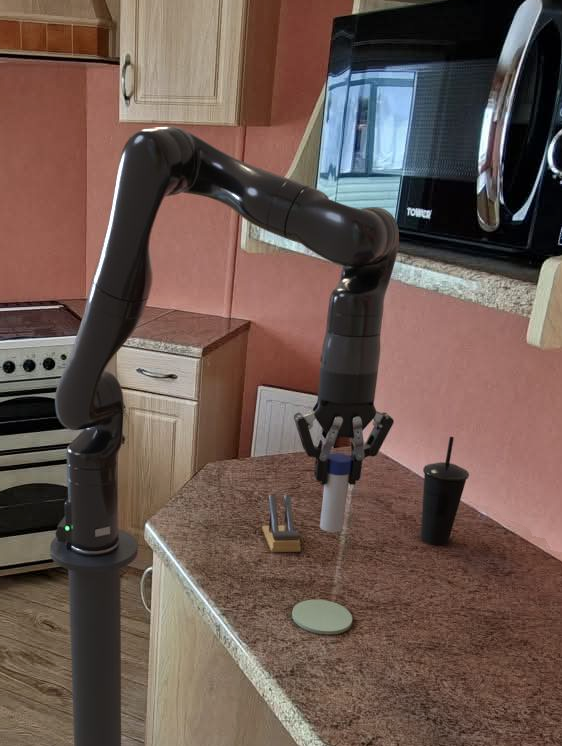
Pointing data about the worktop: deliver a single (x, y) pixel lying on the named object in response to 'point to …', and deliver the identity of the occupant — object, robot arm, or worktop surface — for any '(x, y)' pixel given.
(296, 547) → the rack
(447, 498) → the drinking cup
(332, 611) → the mat
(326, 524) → the vial
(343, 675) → the worktop surface
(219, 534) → the worktop surface
